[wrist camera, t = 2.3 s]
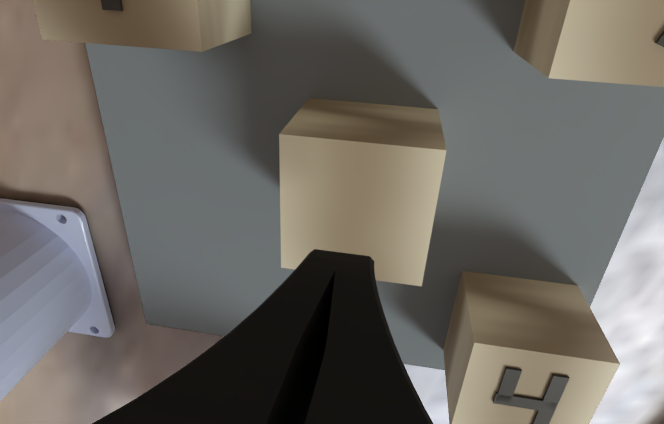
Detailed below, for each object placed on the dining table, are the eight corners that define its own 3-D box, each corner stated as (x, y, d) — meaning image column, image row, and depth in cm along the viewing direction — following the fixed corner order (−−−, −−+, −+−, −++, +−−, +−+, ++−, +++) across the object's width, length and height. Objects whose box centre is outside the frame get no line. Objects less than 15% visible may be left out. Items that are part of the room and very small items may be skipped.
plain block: (306, 209, 18) (280, 267, 14) (309, 98, 15) (279, 134, 12) (419, 222, 17) (421, 286, 14) (438, 109, 15) (446, 150, 11)
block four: (443, 349, 20) (450, 431, 16) (462, 270, 18) (474, 344, 14) (545, 365, 19) (575, 452, 16) (578, 285, 17) (621, 366, 14)
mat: (156, 310, 23) (146, 323, 22) (57, -185, 13) (33, -195, 13) (549, 369, 21) (555, 387, 20) (774, -177, 11) (804, -190, 10)
